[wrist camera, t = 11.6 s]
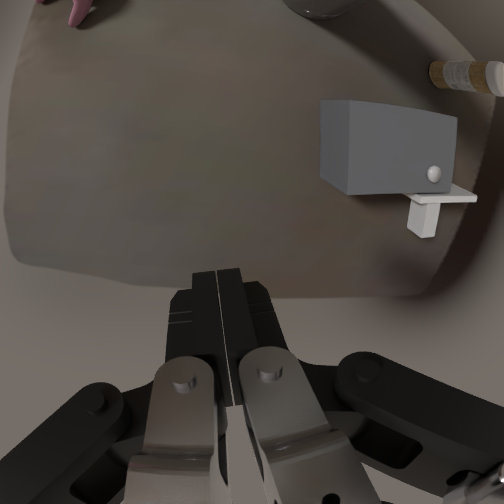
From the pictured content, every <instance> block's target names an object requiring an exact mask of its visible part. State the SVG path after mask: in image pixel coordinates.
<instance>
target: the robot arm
mask: <svg viewBox="0 0 504 504" xmlns="http://www.w3.org/2000/svg"><path fill="white" fill-rule="evenodd" d="M283 1H284V2H285V4H286V5H287V6H288V7H289V8H291V9H292V10H293V11H294V12H296V13H298V14H300V15H302V16H304V17H307V18H310V19H315V20H327V19H332V18H334V17H337V16H338V15H340V14H342V13H344V12H346V11H348V10H350V9H352V8H354V7H356V6H358V5H360V4H362V3H364V2H366V1H368V0H283ZM217 276H218V285H219V294H220V303H221V311H222V319H223V327H222V320H221V312H220V305H219V297H218V290H217V282H216V275H215V271H208V272H199V273H193V274H192V289H186V290H178V291H177V293H176V294H175V296H174V297H173V298H172V300H171V302H170V311H169V313H170V315H169V321H168V322H169V325H168V332H167V344H166V356H165V363H164V364H163V365H162V366H161V367H160V368H159V369H158V370H157V372H156V374H155V377H154V380H153V381H152V382H150V383H148V384H147V385H145V386H142V387H139V388H136V389H133V390H129V391H126V392H123V393H121V392H120V391H119V390H118V389H117V388H116V387H115V386H113V385H111V384H109V383H105V382H98V383H92V384H90V385H87V386H85V387H83V388H82V389H81V390H79V391H78V392H77V393H76V394H75V395H74V396H73V397H71V398H70V399H69V400H68V401H67V402H66V403H65V404H63V405H62V406H61V407H60V408H59V409H58V410H57V411H56V412H54V413H53V414H52V415H51V416H50V417H49V418H47V419H46V420H45V421H44V422H43V423H42V424H41V425H40V426H38V427H37V428H36V429H35V430H34V431H33V432H32V433H31V434H29V435H28V436H27V437H26V438H25V439H24V440H22V441H21V442H20V443H19V444H18V445H17V446H16V447H15V448H13V449H12V450H11V451H10V452H9V453H8V454H7V455H6V456H4V457H3V458H2V459H1V460H0V504H120V503H121V502H122V501H123V500H124V504H233V501H232V495H231V490H230V477H229V456H228V436H227V424H228V423H227V414H226V408H225V407H229V406H233V402H232V395H231V389H230V381H229V374H228V367H227V359H226V352H225V344H226V351H227V357H228V364H229V370H230V376H231V383H232V388H233V394H234V400H235V405H243V411H244V416H245V422H246V428H247V433H248V436H249V440H250V443H251V447H252V450H253V453H254V457H255V460H256V464H257V467H258V470H259V474H260V477H261V480H262V484H263V487H264V492H265V496H266V500H267V503H268V504H393V503H390V502H385V501H380V499H379V497H378V495H377V493H376V491H375V489H374V487H373V485H372V483H371V481H370V479H369V477H368V475H367V473H366V471H365V470H364V467H363V466H362V464H361V462H362V463H364V464H366V465H368V466H370V467H372V468H374V469H376V470H378V471H381V472H383V473H385V474H387V475H389V476H391V477H393V478H396V479H398V480H400V481H402V482H404V483H407V484H409V485H411V486H414V487H416V488H419V489H421V490H424V491H426V492H429V493H431V494H434V495H437V496H439V497H442V498H443V504H504V407H502V406H499V405H496V404H494V403H491V402H489V401H486V400H484V399H481V398H479V397H476V396H473V395H471V394H469V393H466V392H464V391H461V390H459V389H456V388H454V387H451V386H449V385H447V384H444V383H442V382H440V381H437V380H435V379H433V378H430V377H428V376H426V375H423V374H421V373H419V372H416V371H414V370H412V369H410V368H407V367H405V366H403V365H401V364H398V363H396V362H394V361H392V360H389V359H387V358H385V357H383V356H380V355H378V354H376V353H372V352H355V353H352V354H350V355H348V356H346V357H345V358H343V359H342V360H341V362H340V363H339V365H338V366H326V365H313V364H309V363H306V362H303V361H301V360H299V359H297V358H296V356H295V355H294V354H292V353H291V352H290V351H289V350H288V347H287V345H286V342H285V340H284V336H283V333H282V331H281V328H280V325H279V322H278V319H277V316H276V313H275V312H274V308H273V305H272V303H271V299H270V296H269V293H268V290H267V289H266V288H265V287H264V286H263V285H261V284H260V283H259V282H258V281H254V282H246V283H243V281H242V277H241V273H240V269H239V268H233V269H224V270H217ZM223 328H224V335H223ZM224 336H225V344H224Z"/></svg>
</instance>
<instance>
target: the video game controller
mask: <svg viewBox="0 0 504 504" xmlns="http://www.w3.org/2000/svg"><path fill="white" fill-rule="evenodd" d="M35 1H36V3H38V4H40V3H42V2H44V1H45V0H35ZM72 1H73V2H74V6H73V9H72V12H71V15H70V18H69V26H70V27H72V28H73V27H76V26H78V25H79V24H80V23H81V22H82V21H83V19H84V18H85V17H86V15H87V13H88V12H89V9H90V7H91V5H92V2H93V0H72Z"/></svg>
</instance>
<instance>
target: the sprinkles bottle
mask: <svg viewBox="0 0 504 504" xmlns="http://www.w3.org/2000/svg"><path fill="white" fill-rule="evenodd" d="M429 76H430V78H431V81H432V82H433V84H434V85H435V86H436V87H438V88H441V89H443V88H450V89H455V90H465V91H473V92H484V93H491V94H493V95H496V96H502V97H504V63H502V62H495V61H490V62H476V61H475V62H474V61H472V62H471V61H441V62H440V61H434V62H433V63H431V65H430V68H429Z"/></svg>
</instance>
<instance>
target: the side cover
mask: <svg viewBox="0 0 504 504" xmlns="http://www.w3.org/2000/svg"><path fill="white" fill-rule="evenodd" d="M402 194H404V195H406V196H407V197H409V198H411V205H410V212H409V218H408V224H407V228H408V229H410V230H411V231H413V232H414V233H415V234H417V235H418V236H419V237H421V238H426V237H434V235H435V230H436V225H437V220H438V215H439V210H440V204H441V203H450V202H476V200H477V196H476V195H475V194H473V193H471V192H469V191H467V190H465V189H462V188H460V187H458V186H456V185H454V184H452V183H451V190H450V192H440V193H402Z"/></svg>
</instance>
